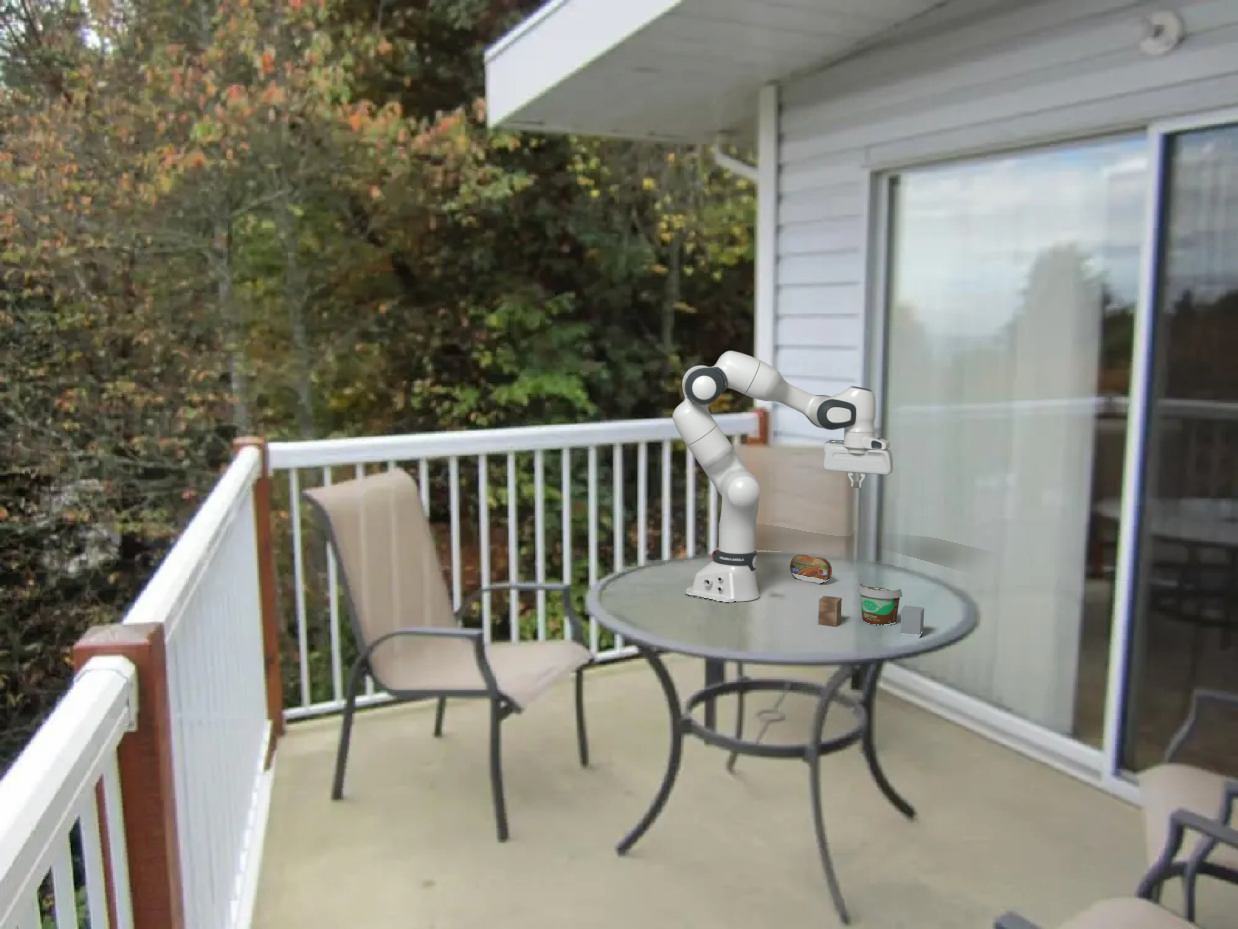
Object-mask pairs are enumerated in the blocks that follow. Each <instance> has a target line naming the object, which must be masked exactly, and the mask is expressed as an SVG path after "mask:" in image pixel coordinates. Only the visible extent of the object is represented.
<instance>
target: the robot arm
mask: <svg viewBox="0 0 1238 929" xmlns="http://www.w3.org/2000/svg"><path fill="white" fill-rule="evenodd" d="M681 380H682V381H681V389H682V399H683V401H682V402H681V403H680V404H679V405H677V406H676V408H675V409H674V411H673V412H672V421H673V423H674V425H675V428H676V430H677V432H678V433H679V436H680V437H681V439H682V440H683V442H684V443H685V446H687V448H688V449H689V451H690V452H691V453H692V456H693V457H694V459H696V461H697V462H698V464H699V465H700V466H701V468H702V469H703V472H705V474H706V476H707V477H708V478H709V480H710V482H711V483H712V485H713V486H714V487H715V489H716V490H717V492H718V494H719V495H720V496H721V511H720V518H719V523H718V547H716V549H714V550H713V551H712V552H711V553H710V557H712V561H710V562H709V563H707V564H706V565H704V567H701V569H700V570H698V571H697V572H696V573H695V575H694V578H693V581H692V582H693V583H692V585H691V586H688V587H687V588H686V589H685V593H686V594H689V595H697V596H701V597H704V598H709V599H713V600H712V601H714V600H716V601H715V602H719V601H723V602H722V603H725V602H729V603H734V601H736V602H747V601H748V602H749V601H754V600H757V599H759V598H760V597H761V595H760V592H759V588H758V582H757V571H756V570H757V565H758V554H757V553H758V552H757V550H756V540H757V539H756V537H757V536H756V535H757V534H756V530H757V519H758V515H759V514H758V513H759V506H760V505H759V504H760V496H761V485H760V482H759V481H758V478H757V477H756V476H755V475H754V474H752V473H751V472H750V471H749V470H748V469H747V468H746V466H745V465H744V462H742V460H741V458H740V456H739V455H738V454H737V452H736V450H735V449H734V447H733V445H732V444H731V441H730V440H729V439H728V438H727V436H726V435H725V433H724V431H723V430H722V429H721V427H720V426H719V424H718V423H717V422H716V420H715V419H714V417H713V416H712V414H711V412H710V410H709V405H710V404H712V403H714V402H716V400H717V399H719V397H720V396H721V395H722V394H723V393H724V392H725V391H726V390H727V389H732V390H734V391H736V392H739V393H740V394H743V395H744V396H748V397H750V398H753V399H756V400H759V401H763V402H776V403H780V404H783V405H784V406H786V407H789V408H790V409H793V410H796V411H797V412H799V413H801V414H803V415H804V416H805V418H807V419H808V421H809V422H810V423H811V424H812V425H813V426H815V427H816V428H819V429H824V430H828V431H836V430H840V429H844V431H843V440H841V439H839V440H838V439H837V440H835V439H829V440H827V441H826V442H825V443H824V445H823V446H824V447H823V452H824V456H823V457H824V458H823V465H822V466H823V468H824V470H825V471H831V472H833V471H834V472H845V473H847V476H848V478H849V480H850V482H851V483H850V484H851V485H850V487H851V488H856V489H857V488H858V489H862V488H863V482H864V481H865V479H866V478H867V474H869V475H870V474H871V475H873V474H875V475H883V476H885V475H889V476H890V474H892V473H893V471H894V461H893V460H894V458H893V454H892V451H891V450H890V449H889V448H890V447H891V443H890V442H891V441H889V440H887V439H883V438H881V437H878V436H876V435H875V434H876V430H875V420H876V417H877V416H876V415H877V414H876V413H877V410H876V409H877V408H876V406H877V405H876V404H877V403H876V402H877V401H876V395H875V392H873V390H871V389H868V388H866V387H860V386H855V385H854V386H853V385H852V386H849V387H848V388H846V389H845V390H843V391H842V392H839V393H837V394H835V395H832V396H830V395H826V394H819V395H818V394H812V393H809V392H807V391H806V390H803V389H801V388H798V387H796V386H795V385H793V384H791V383H789V382H787V381H786V380H785V378H784V377H783V376H782V374H781V373H780V371H779V370H777V369H776V368H775V367H773V366H771V365H770V364H768V363H766V362H765V361H762V360H760V359H758V358H756V357H754V356H751V355H748V354H745V353H743V352H739V351H734V350H727V351H725V352H724V353H723V354H721V355H720V356H719V358H718V360H717V361H716V363H715V364H714V365H713V366H707V365H702V364H698V365H694V366H691V367H690V368H688V369H687V370H686V371H685V372H684V374H683V376H682V379H681ZM855 473H857V474H858V473H860V475H859V476H860V477H861V478H860V480H856V479H855V478H854V476H855ZM686 594H685V595H686ZM759 596H760V597H759ZM704 598H703V599H704ZM709 599H708V600H709Z"/></svg>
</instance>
